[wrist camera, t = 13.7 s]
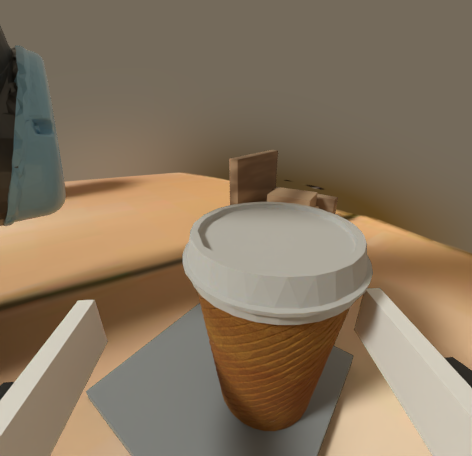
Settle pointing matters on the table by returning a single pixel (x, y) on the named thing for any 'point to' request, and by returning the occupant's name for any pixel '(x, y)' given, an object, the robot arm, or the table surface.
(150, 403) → the slate mat
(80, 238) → the table surface
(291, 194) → the offcut stack
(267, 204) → the disposable coffee cup
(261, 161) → the offcut rack
